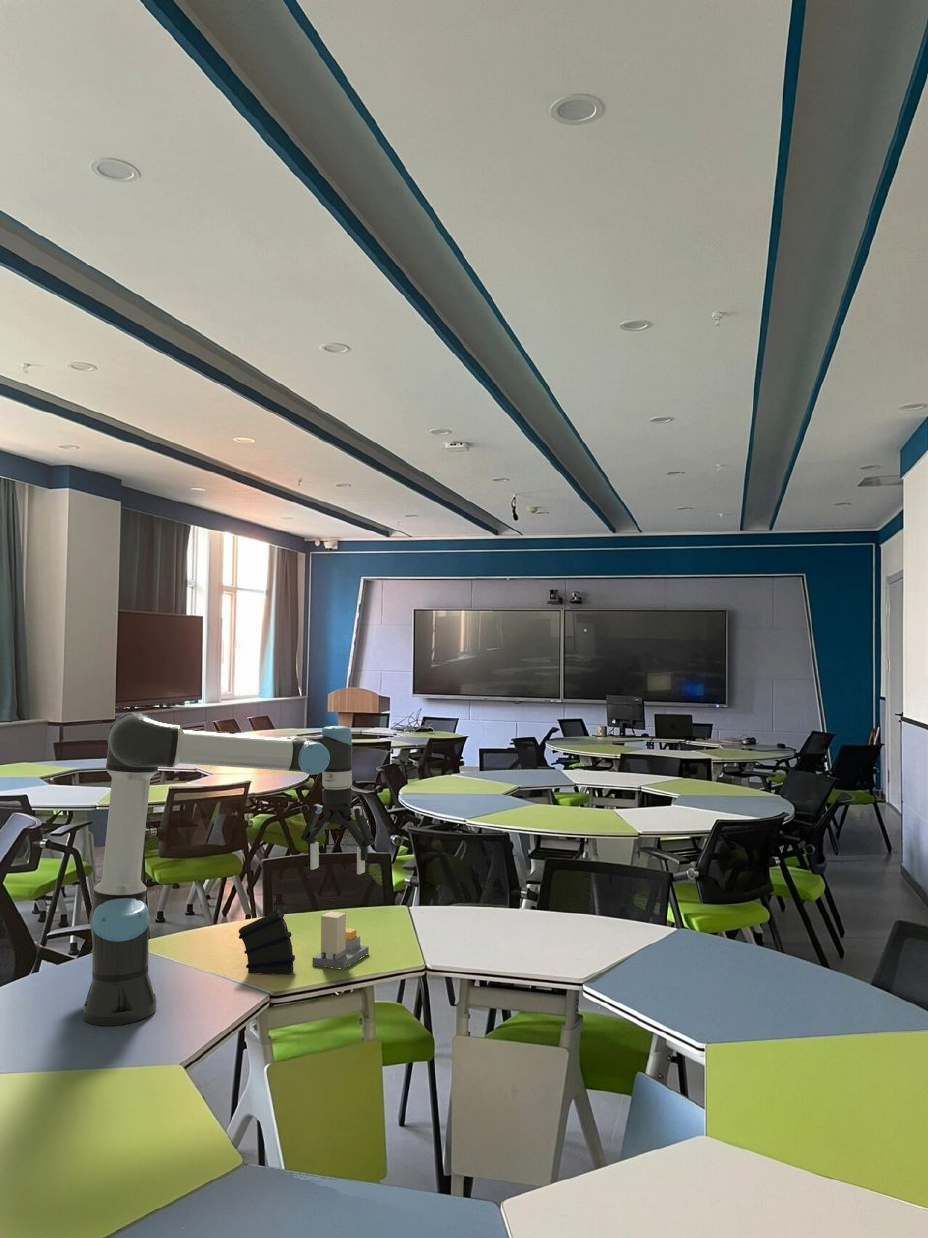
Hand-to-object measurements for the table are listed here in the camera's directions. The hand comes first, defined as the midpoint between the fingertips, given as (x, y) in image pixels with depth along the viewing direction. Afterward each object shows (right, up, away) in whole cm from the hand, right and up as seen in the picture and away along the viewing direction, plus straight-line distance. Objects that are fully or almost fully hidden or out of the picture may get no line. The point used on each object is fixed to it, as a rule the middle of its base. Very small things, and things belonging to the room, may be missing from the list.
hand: (337, 871), depth 243 cm
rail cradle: (+1, -23, +1) cm, 23 cm away
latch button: (+2, -20, +5) cm, 21 cm away
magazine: (-17, -23, -8) cm, 30 cm away
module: (-1, -21, -2) cm, 21 cm away
